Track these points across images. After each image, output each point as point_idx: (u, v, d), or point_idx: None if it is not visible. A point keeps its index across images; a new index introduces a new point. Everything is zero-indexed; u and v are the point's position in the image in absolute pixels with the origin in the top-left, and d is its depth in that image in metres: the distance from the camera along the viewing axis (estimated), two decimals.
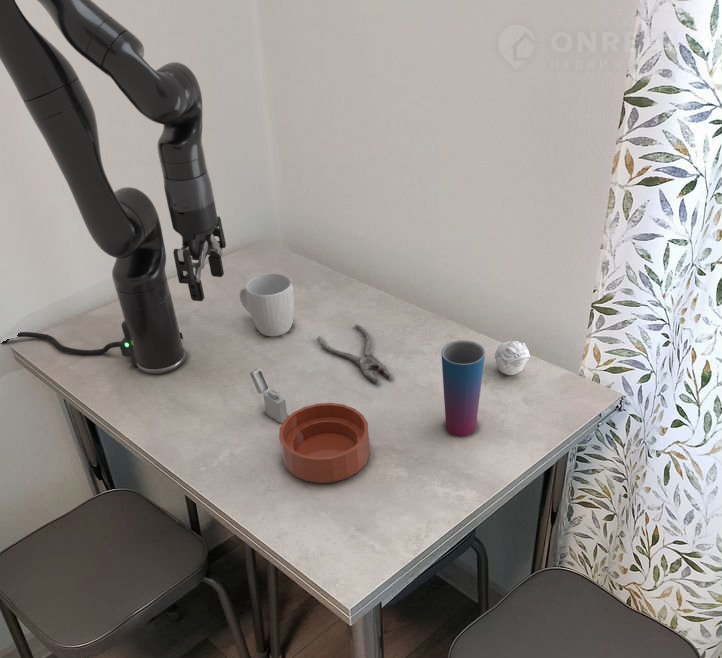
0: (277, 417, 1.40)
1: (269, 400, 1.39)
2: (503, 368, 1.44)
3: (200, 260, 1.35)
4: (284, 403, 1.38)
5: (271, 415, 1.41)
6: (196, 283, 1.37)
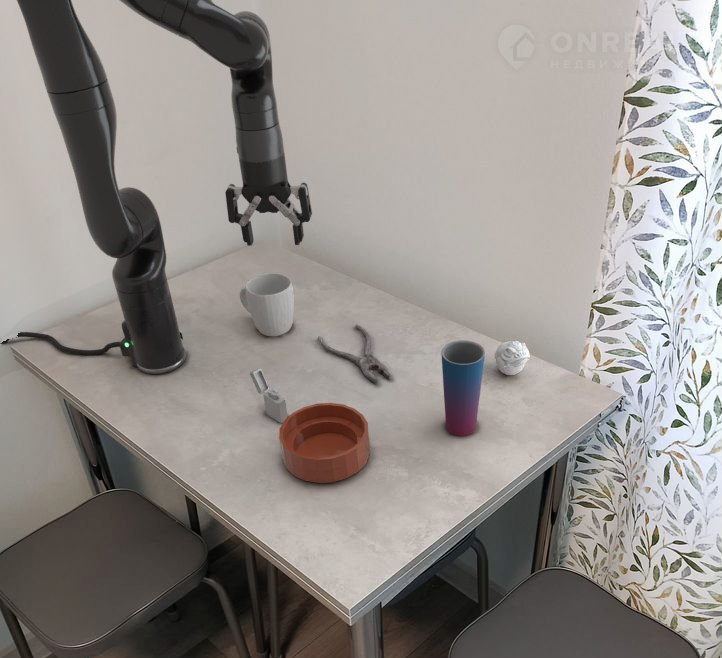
0: (277, 417, 1.40)
1: (269, 400, 1.39)
2: (503, 368, 1.44)
3: (247, 208, 1.38)
4: (284, 403, 1.38)
5: (271, 415, 1.41)
6: (243, 226, 1.41)
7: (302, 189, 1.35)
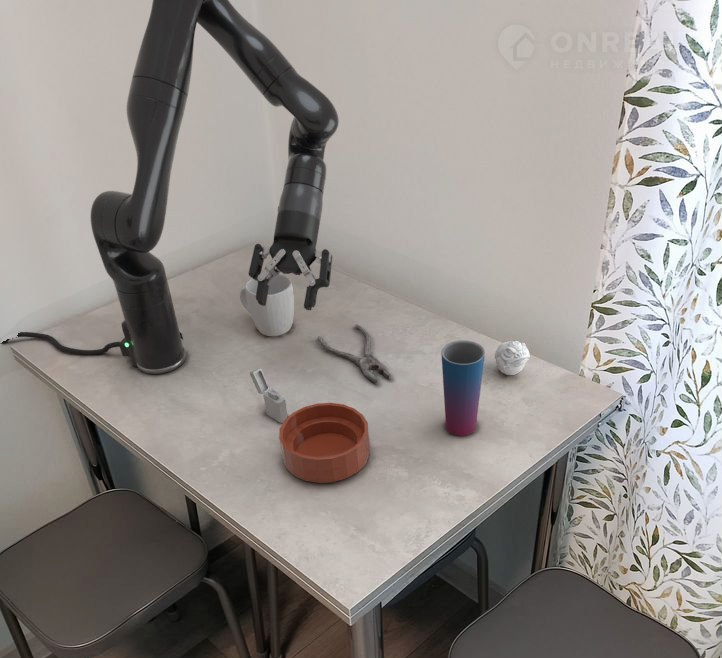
0: (277, 417, 1.40)
1: (269, 400, 1.39)
2: (503, 368, 1.44)
3: None
4: (284, 403, 1.38)
5: (271, 415, 1.41)
6: (260, 283, 1.42)
7: (326, 250, 1.39)
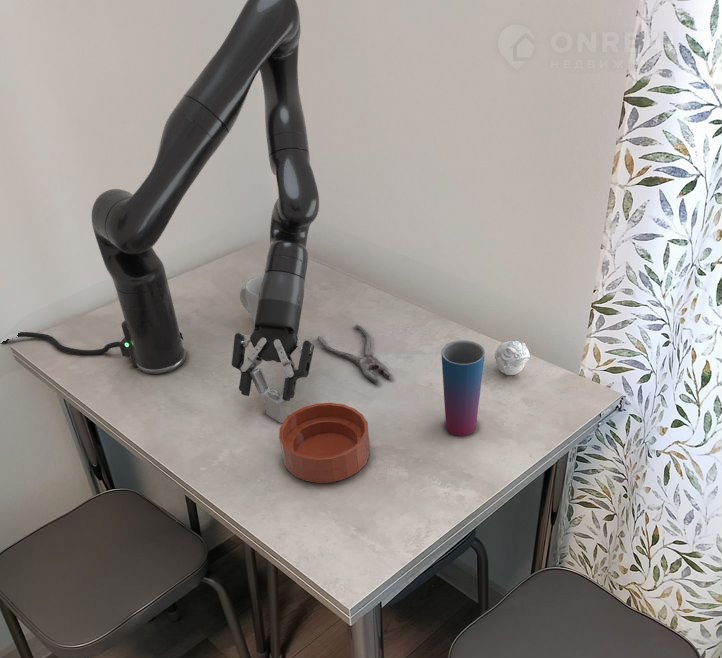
0: (277, 417, 1.40)
1: (269, 400, 1.39)
2: (503, 368, 1.44)
3: (251, 352, 1.38)
4: (284, 403, 1.38)
5: (271, 415, 1.41)
6: (243, 373, 1.39)
7: (308, 341, 1.36)
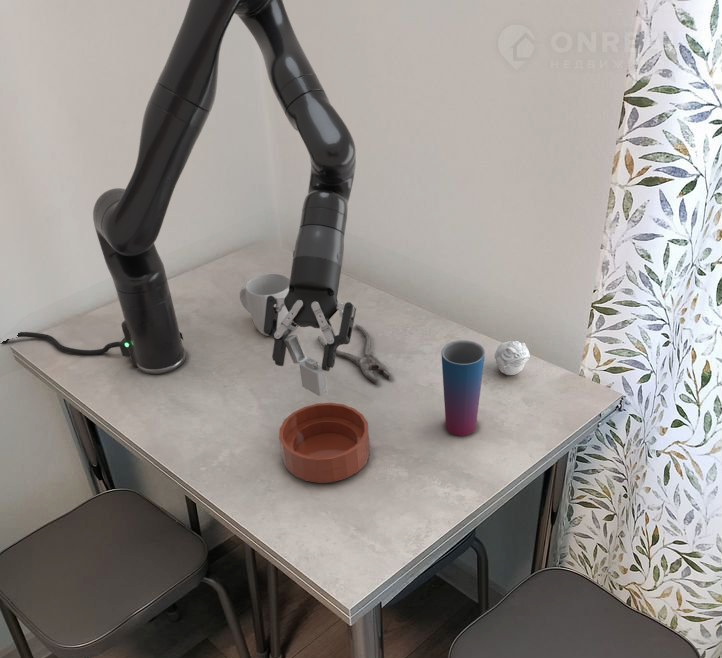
0: (315, 389, 1.25)
1: (307, 371, 1.24)
2: (503, 368, 1.44)
3: (286, 316, 1.23)
4: (323, 373, 1.24)
5: (308, 387, 1.26)
6: (276, 340, 1.24)
7: (350, 303, 1.22)
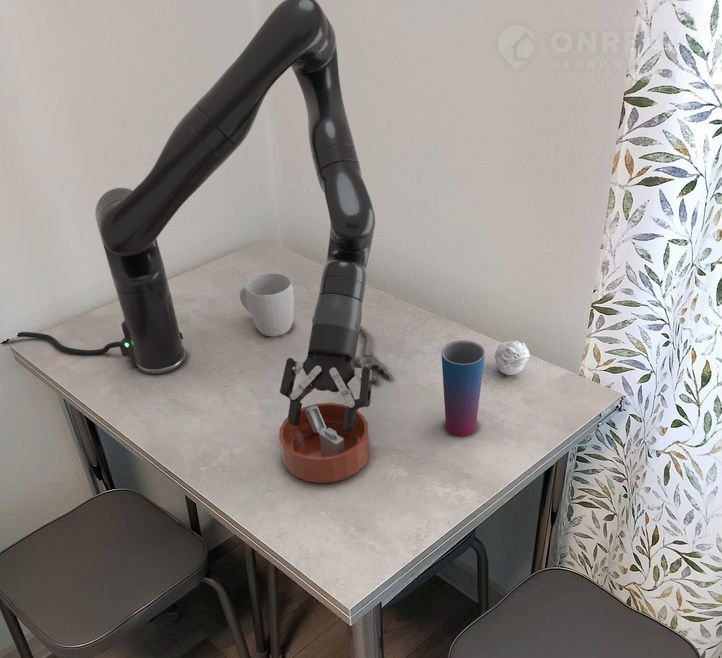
0: None
1: (326, 440, 1.29)
2: (503, 368, 1.44)
3: None
4: (342, 443, 1.28)
5: (327, 455, 1.31)
6: (292, 401, 1.28)
7: (367, 368, 1.25)
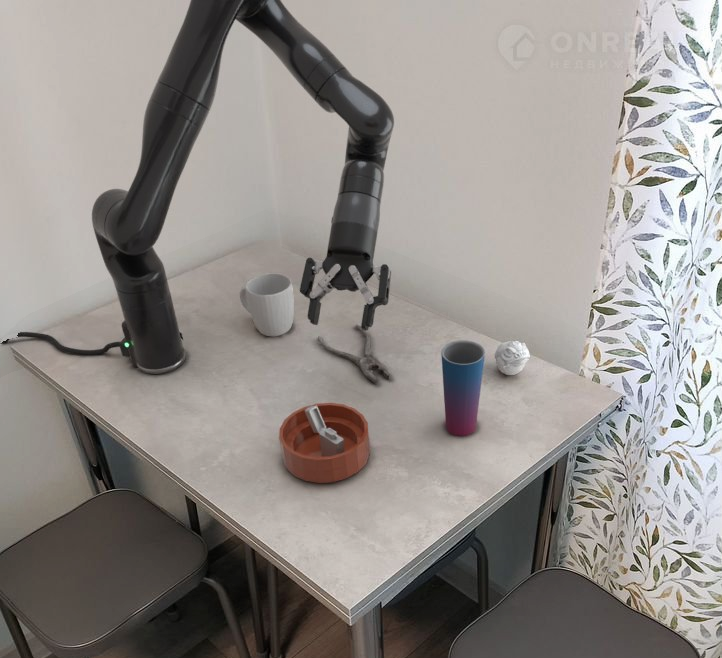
0: None
1: (326, 440, 1.29)
2: (503, 368, 1.44)
3: (323, 278, 1.29)
4: (342, 443, 1.28)
5: (327, 455, 1.31)
6: (312, 300, 1.30)
7: (385, 265, 1.28)
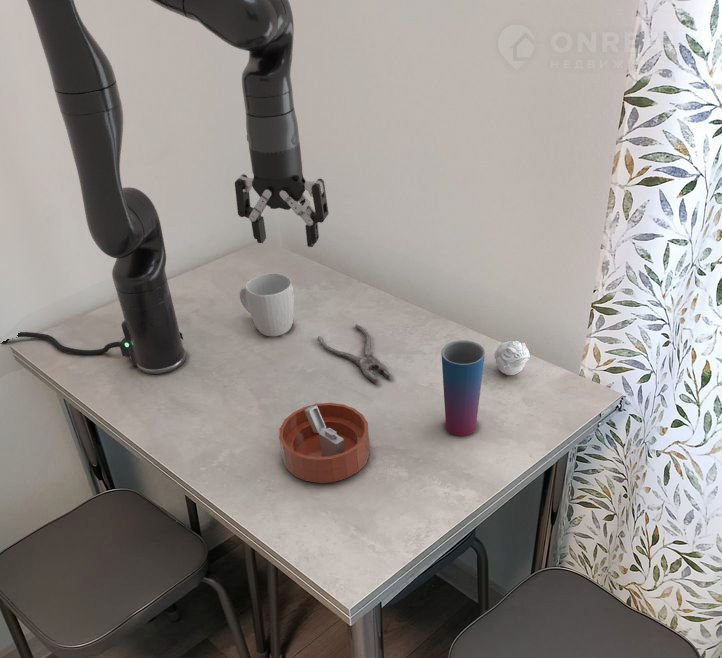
0: None
1: (326, 440, 1.29)
2: (503, 368, 1.44)
3: (257, 202, 1.25)
4: (342, 443, 1.28)
5: (327, 455, 1.31)
6: (253, 221, 1.28)
7: (316, 186, 1.21)
